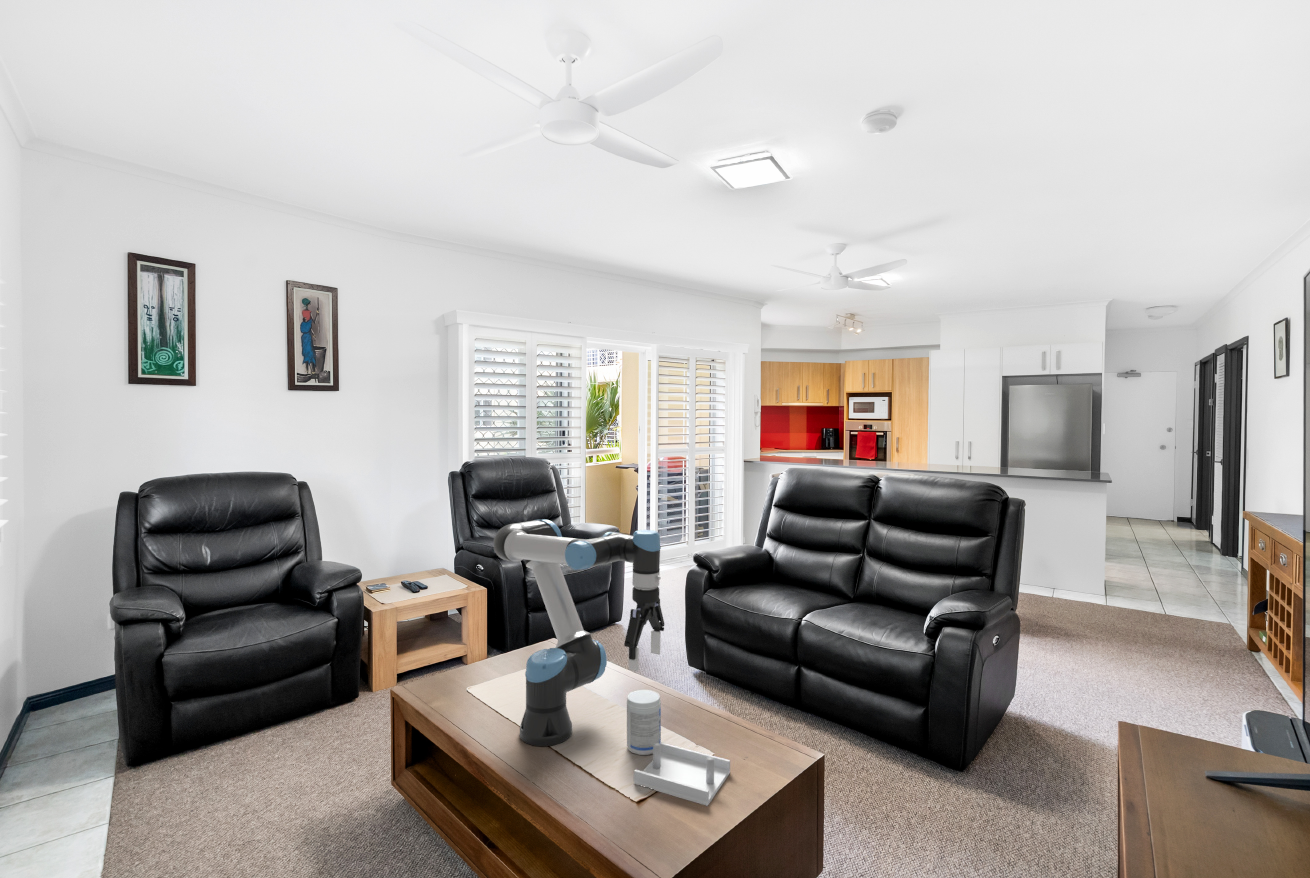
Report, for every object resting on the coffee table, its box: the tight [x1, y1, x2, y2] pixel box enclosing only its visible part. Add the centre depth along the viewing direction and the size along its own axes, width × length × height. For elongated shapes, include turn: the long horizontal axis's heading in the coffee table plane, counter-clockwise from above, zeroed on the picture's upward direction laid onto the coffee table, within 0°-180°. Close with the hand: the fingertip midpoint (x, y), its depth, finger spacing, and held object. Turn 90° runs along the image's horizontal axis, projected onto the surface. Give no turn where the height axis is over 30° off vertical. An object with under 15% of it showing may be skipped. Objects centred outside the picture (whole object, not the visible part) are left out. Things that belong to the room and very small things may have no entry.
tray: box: [633, 742, 731, 807], centre depth 166 cm, size 20×16×7 cm
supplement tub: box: [626, 689, 662, 756], centre depth 181 cm, size 10×10×15 cm
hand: (644, 661), depth 180 cm, fingers open, 13 cm apart
